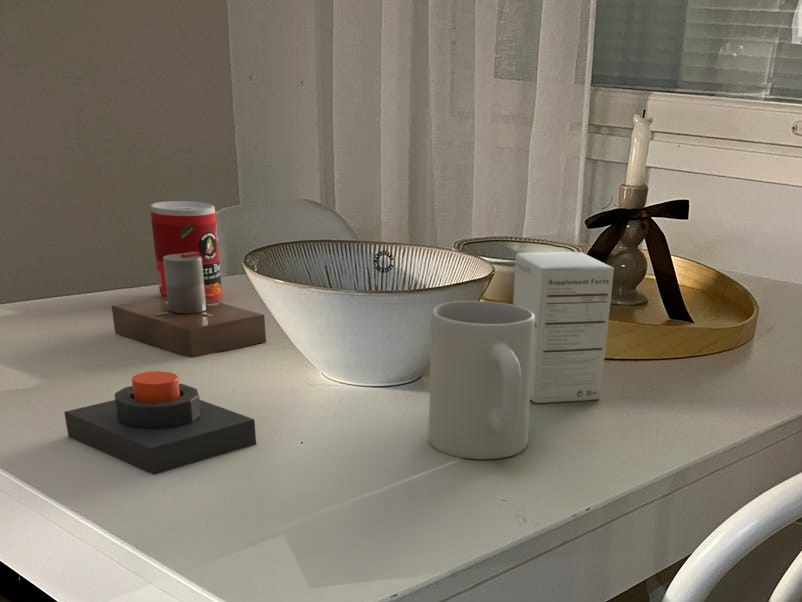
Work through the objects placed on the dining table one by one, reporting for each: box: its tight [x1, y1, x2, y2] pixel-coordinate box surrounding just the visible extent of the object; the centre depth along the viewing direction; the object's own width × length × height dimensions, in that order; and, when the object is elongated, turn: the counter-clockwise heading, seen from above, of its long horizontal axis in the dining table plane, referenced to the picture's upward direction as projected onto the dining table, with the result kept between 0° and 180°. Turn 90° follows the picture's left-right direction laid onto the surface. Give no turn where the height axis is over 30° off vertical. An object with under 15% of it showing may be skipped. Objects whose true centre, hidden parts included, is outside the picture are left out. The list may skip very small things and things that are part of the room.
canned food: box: [150, 200, 223, 302], centre depth 128 cm, size 8×8×11 cm
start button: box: [131, 370, 180, 402], centre depth 83 cm, size 4×4×2 cm
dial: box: [163, 252, 206, 314], centre depth 111 cm, size 4×4×6 cm
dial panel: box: [111, 296, 267, 359], centre depth 113 cm, size 14×10×3 cm
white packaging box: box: [512, 251, 615, 404], centre depth 99 cm, size 7×7×13 cm
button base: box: [63, 383, 257, 475], centre depth 84 cm, size 12×10×4 cm
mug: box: [427, 300, 535, 460], centre depth 84 cm, size 12×8×11 cm
